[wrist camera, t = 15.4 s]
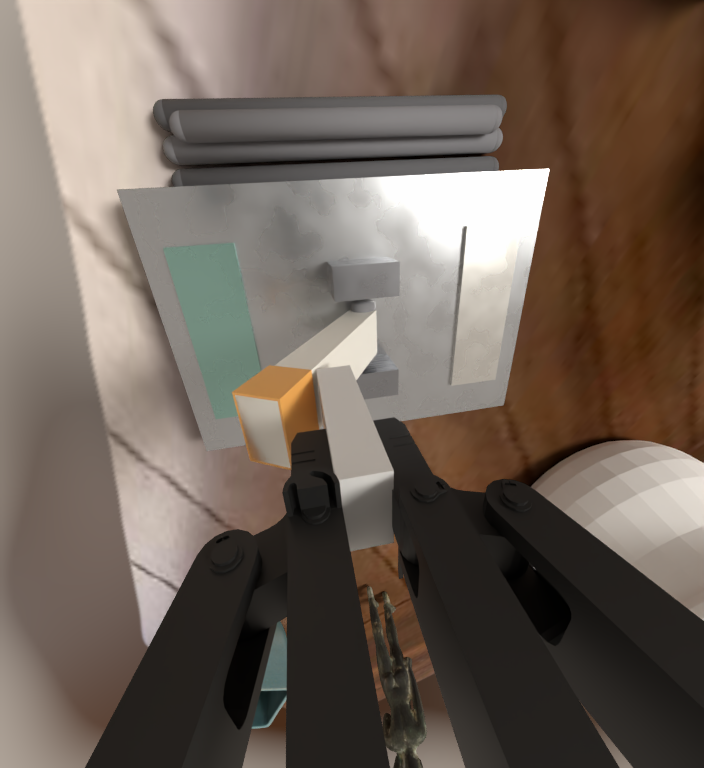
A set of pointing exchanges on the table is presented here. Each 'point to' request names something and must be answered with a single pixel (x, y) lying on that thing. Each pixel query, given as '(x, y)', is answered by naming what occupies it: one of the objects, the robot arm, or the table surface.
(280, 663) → the flower pot
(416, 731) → the statue
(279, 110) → the cords
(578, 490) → the pot
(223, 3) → the table surface
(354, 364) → the lever
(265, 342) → the panel
